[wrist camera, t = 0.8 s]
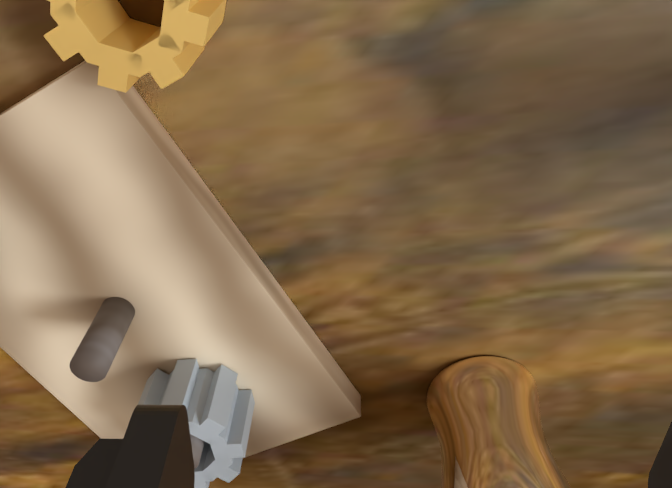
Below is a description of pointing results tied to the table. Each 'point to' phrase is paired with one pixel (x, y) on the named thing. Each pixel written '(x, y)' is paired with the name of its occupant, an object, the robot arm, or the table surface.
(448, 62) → the table surface
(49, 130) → the gear board
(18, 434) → the table surface
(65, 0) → the gear
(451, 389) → the beer glass
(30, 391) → the table surface
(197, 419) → the gear
